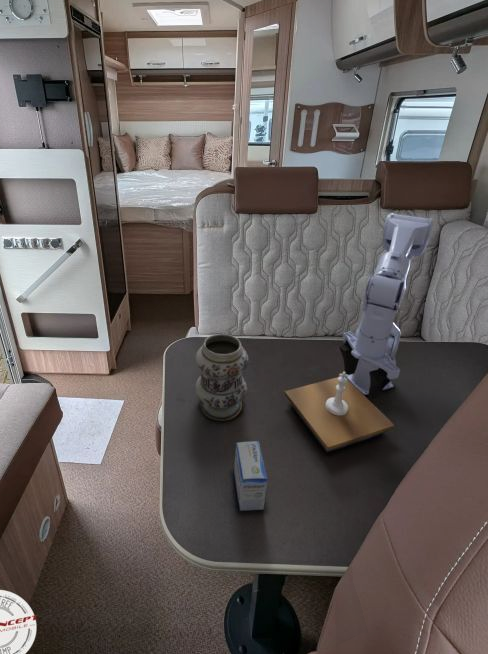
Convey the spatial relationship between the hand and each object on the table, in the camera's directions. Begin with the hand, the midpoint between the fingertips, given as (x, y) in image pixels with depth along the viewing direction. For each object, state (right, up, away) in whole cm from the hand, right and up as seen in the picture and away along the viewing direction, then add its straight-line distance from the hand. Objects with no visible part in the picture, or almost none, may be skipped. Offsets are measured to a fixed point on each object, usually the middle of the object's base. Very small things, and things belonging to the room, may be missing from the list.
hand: (361, 384), depth 79 cm
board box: (-4, -9, +4) cm, 11 cm away
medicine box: (-26, -17, -11) cm, 33 cm away
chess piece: (-4, -6, +3) cm, 8 cm away
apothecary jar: (-31, -7, +8) cm, 32 cm away
